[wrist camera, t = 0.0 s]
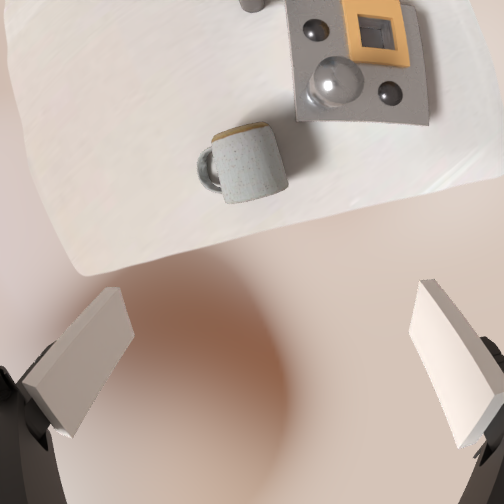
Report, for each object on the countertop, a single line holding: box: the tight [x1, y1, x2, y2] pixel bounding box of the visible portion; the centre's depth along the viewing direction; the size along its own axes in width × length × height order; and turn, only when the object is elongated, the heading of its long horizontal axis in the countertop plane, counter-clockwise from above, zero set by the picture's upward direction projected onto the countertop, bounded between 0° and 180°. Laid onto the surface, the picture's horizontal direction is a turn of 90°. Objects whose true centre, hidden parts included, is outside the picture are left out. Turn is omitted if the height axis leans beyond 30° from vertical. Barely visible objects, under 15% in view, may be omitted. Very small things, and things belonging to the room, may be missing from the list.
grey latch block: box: [285, 0, 429, 126], centre depth 25 cm, size 16×16×12 cm
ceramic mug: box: [197, 122, 289, 204], centre depth 34 cm, size 11×8×8 cm
